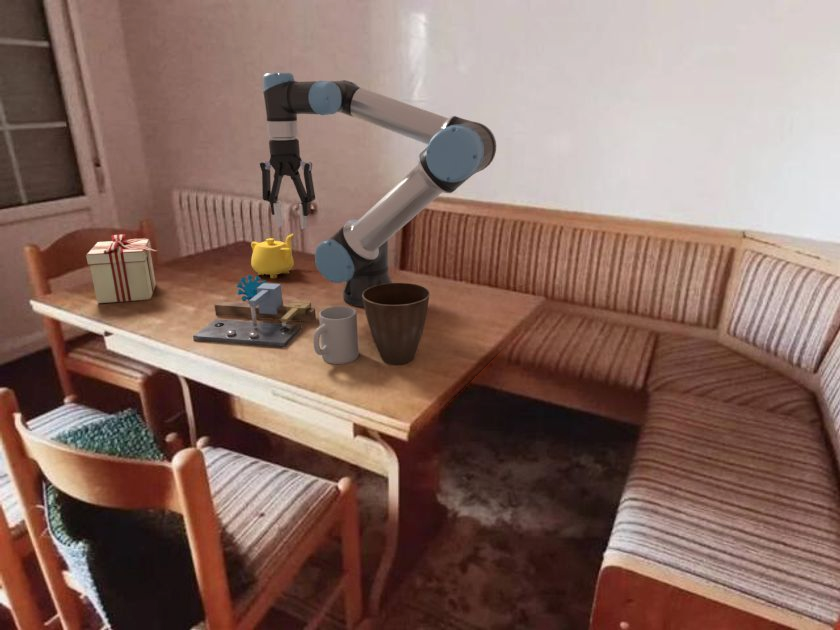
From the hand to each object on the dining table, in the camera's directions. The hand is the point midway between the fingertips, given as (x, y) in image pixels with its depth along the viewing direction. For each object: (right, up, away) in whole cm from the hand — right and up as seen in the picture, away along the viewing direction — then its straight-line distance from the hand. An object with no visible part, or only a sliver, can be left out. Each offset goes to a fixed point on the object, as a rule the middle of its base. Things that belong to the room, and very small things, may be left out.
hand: (291, 227), depth 157 cm
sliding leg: (-6, -24, -3) cm, 25 cm away
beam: (-7, -24, +2) cm, 25 cm away
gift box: (-53, -17, +20) cm, 59 cm away
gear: (-13, -20, +12) cm, 27 cm away
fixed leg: (+2, -25, -5) cm, 25 cm away
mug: (+15, -34, -22) cm, 43 cm away
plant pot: (+29, -34, -22) cm, 50 cm away
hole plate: (-9, -29, -10) cm, 32 cm away
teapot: (-13, -9, +38) cm, 42 cm away
